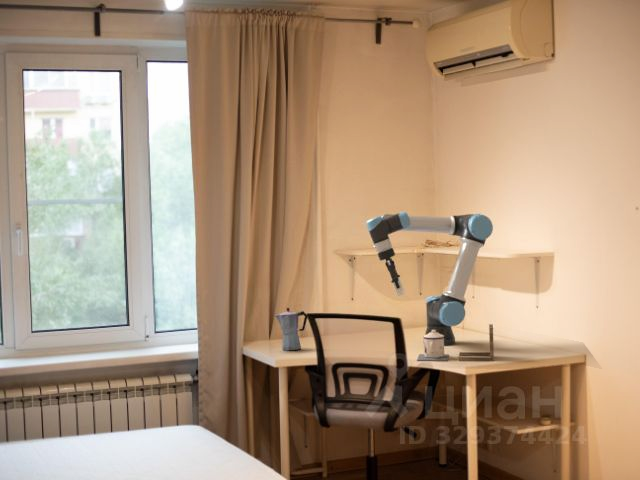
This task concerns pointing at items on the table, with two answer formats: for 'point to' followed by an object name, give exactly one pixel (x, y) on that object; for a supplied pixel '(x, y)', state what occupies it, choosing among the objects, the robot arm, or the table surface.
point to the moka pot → (290, 329)
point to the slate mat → (423, 358)
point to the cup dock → (480, 352)
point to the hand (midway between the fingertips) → (401, 293)
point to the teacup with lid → (434, 345)
